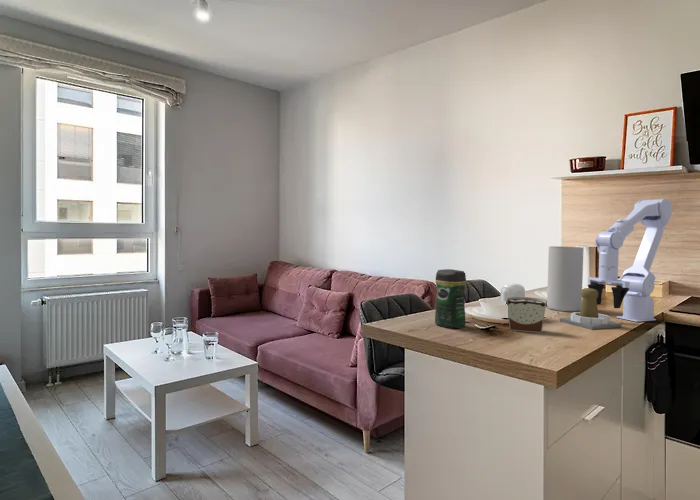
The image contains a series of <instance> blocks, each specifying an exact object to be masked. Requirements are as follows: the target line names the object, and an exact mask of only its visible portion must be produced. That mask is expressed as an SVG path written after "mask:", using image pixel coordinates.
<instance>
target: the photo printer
mask: <svg viewBox="0 0 700 500" xmlns="http://www.w3.org/2000/svg"><path fill="white" fill-rule="evenodd" d="M510 297H526V290H525V287H524V286H523V285H521V284H520V283H508V284H506V285H504V286H502V287H501V289H500V299H499V300H500V301H506V300H507V298H510ZM500 301H499V302H500Z"/></svg>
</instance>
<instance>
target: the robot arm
mask: <svg viewBox="0 0 700 500" xmlns="http://www.w3.org/2000/svg"><path fill="white" fill-rule="evenodd" d="M673 211H674V209H673V205H672V201H671V200H670V199H669V198H659V199H639V200H638V201H637V202H636V203H635V204H634V206H633V210H632V211H631V212H630V213H629V214H628V215H627V216H626V217H625V218H620V219H619V218H618V219H616V221H615V223H614V224H612V225H611V226H609V227H608V229H607V230H606V231H601V232H600V233H598V234H597V235H596V239H595V246H596V247H597V253H598V256H599V257H598V277H596V276H595V277H594V276H592V277H591V276H590V277H588V278H587V283H588V284H587V287H588V288H590V289H595V290H597V291H598V298H597V299H596V300H597V305H601V303H602V297H603V296H602V295H603V294H602V293H603V290H604V287H605V286H611V292H612V295H613V296H612V297H613V309H620V308H621V306H622V315H618V316H616V318H617V319H621V320H627V321H631V322H636V323H640V322H650V321H656V320H657V319H656V318H654V316H655V315H654V311H655V300H654V299H653V297H652V296H651V294H652V293H653V292H654V290H655V281H656V276H655V275H654V274H653V273H652V271H650V270H651V269H652V265H653V262H654V261H655V260H654V259H655V257H656V254H657V252H658V251H657V250H659V249H658V248H659V245H660V244H661V240H662V237H663V234H664V232H665V229H666V226H667V225H668V224H669V222H670V218H671V216H672V213H673ZM639 222H640V223H641V225H643V226H645V227H646V228H645V231H644V235H643V238H642V239H641V242H640V245H639V248H638V250H637V253H636V256H635V258H634V261H633V264H632V266H630V267H629V268H626V269H624V270H623V273H622V275H621V276H620V277H619V253H620V252H619V251H620V250H619V249H620V248H622V247H623V245H624V241H625V240H626V238H627V237H629V235H630V234H631V233H632V232H633V231H634V228H635V227H634V226H635V225H637V224H638V223H639ZM622 303H623V304H622Z"/></svg>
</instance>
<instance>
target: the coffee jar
mask: <svg viewBox="0 0 700 500" xmlns="http://www.w3.org/2000/svg"><path fill="white" fill-rule="evenodd" d="M466 276H467V274H466V272H465V271H464V270H459V269H458V270H457V269H451V268H447V269H446V268H445V269H438V270H437V272H436V273H435V286H436V304H435V315H434V323H435V325H437V326H440V327H444V328H457V329H460V328H463V327H464V326H466V309H465V305H466V304H465V288H466V284H467V277H466Z"/></svg>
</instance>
